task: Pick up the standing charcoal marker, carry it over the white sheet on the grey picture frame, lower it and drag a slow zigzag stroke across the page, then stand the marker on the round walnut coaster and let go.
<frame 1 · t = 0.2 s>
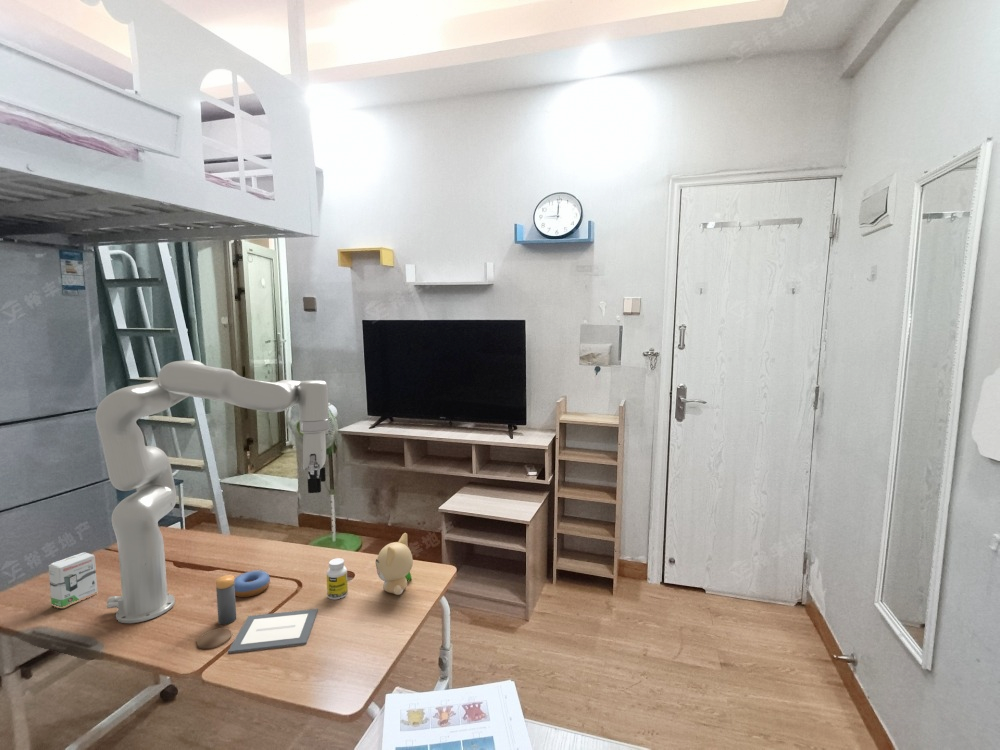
hand: (317, 486, 132), 31 cm above the table, fingers open, 9 cm apart
doughnut: (251, 590, 138), on the table
grey picture frame: (276, 630, 118), on the table
marker: (227, 620, 123), on the table
kitten: (396, 589, 137), on the table
supplement bottle: (337, 595, 134), on the table
ink box: (75, 601, 132), on the table
coaster: (214, 639, 115), on the table
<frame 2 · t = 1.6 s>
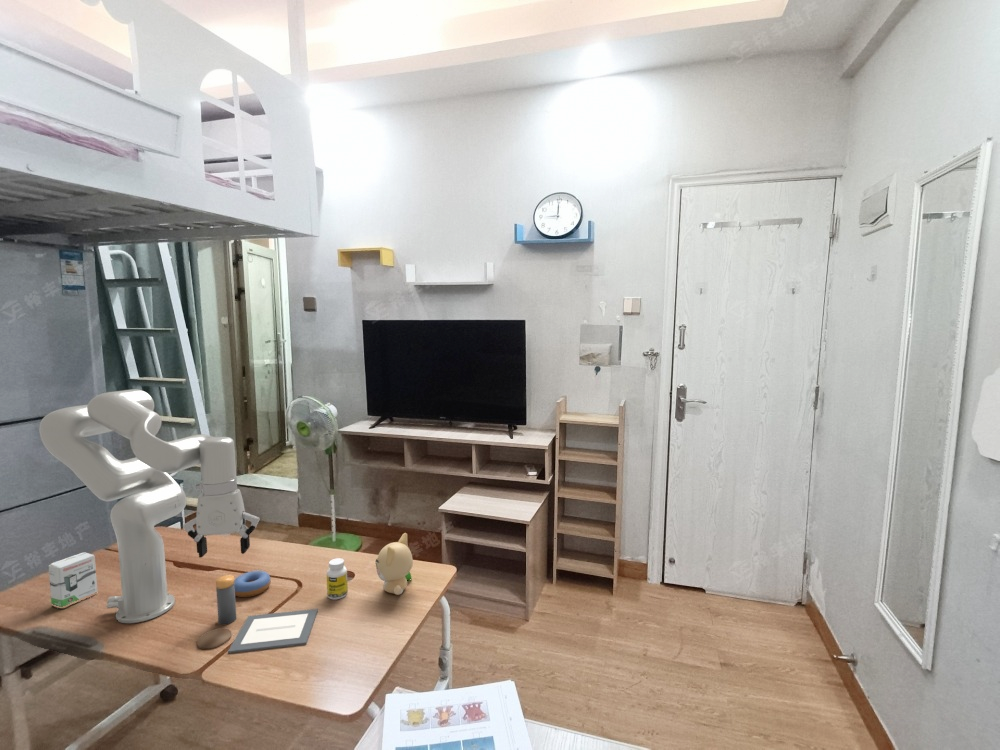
hand: (224, 553, 121), 18 cm above the table, fingers open, 9 cm apart
nothing on the table moved.
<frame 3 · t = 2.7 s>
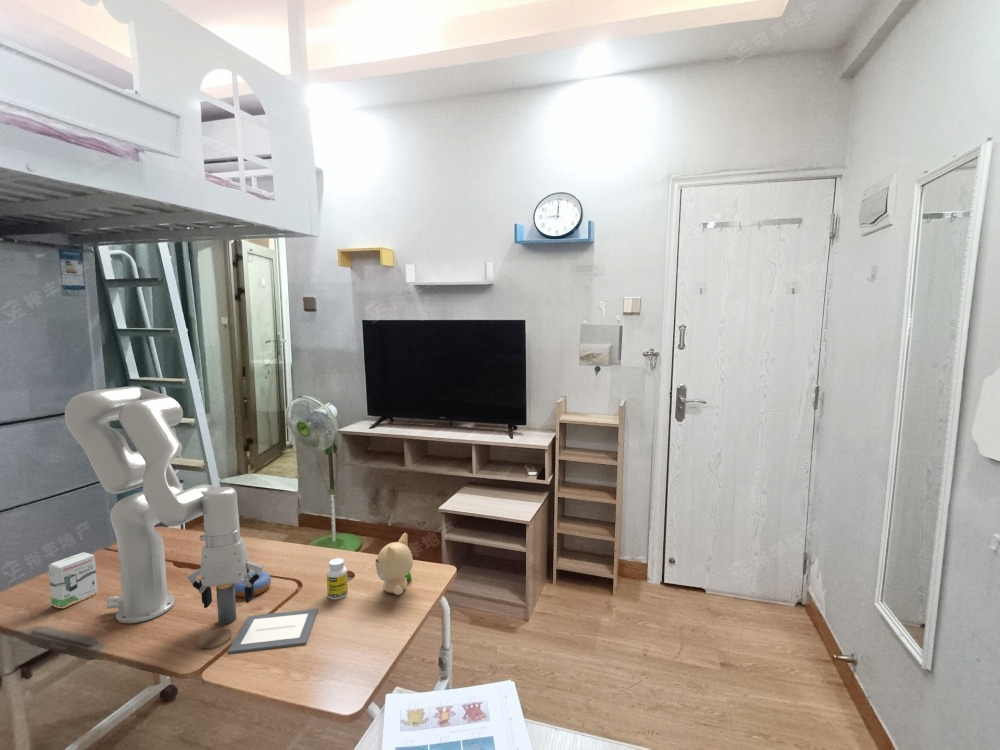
hand: (228, 602, 122), 5 cm above the table, fingers open, 9 cm apart
nothing on the table moved.
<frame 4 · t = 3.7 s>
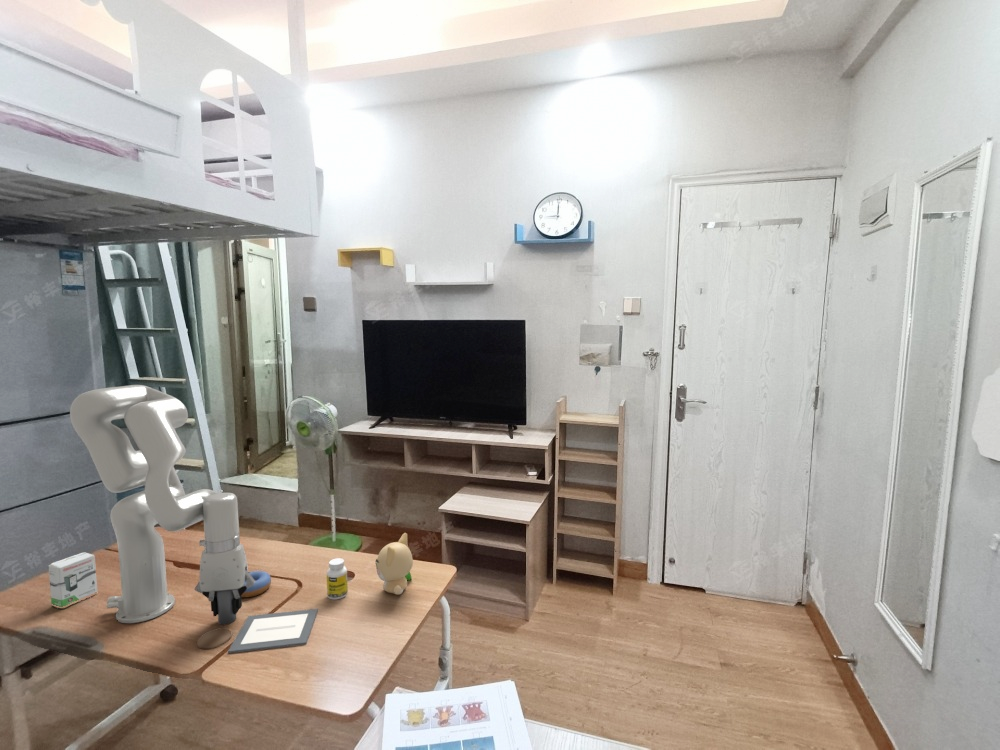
hand: (227, 611, 123), 2 cm above the table, fingers closed on marker, 3 cm apart
marker: (227, 620, 123), on the table, touching gripper
everything else where it was.
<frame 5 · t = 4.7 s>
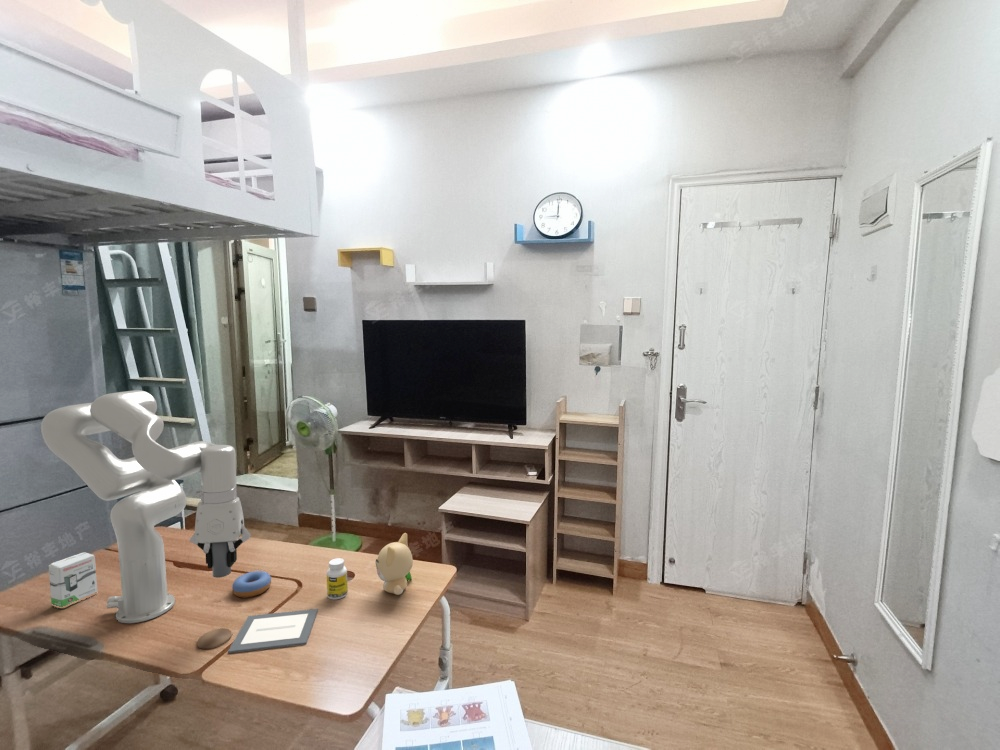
hand: (221, 564, 122), 15 cm above the table, fingers closed on marker, 3 cm apart
marker: (221, 573, 122), point 12 cm above the table, touching gripper
everything else where it was.
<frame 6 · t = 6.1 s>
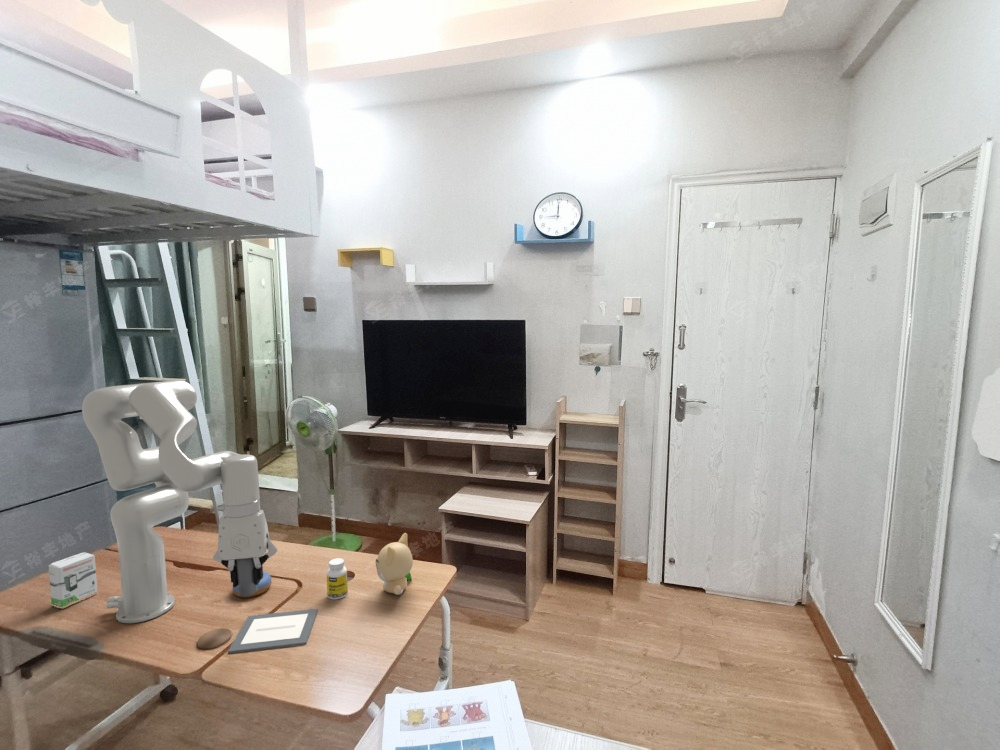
hand: (247, 582, 114), 14 cm above the table, fingers closed on marker, 3 cm apart
marker: (248, 591, 114), point 12 cm above the table, touching gripper
everything else where it was.
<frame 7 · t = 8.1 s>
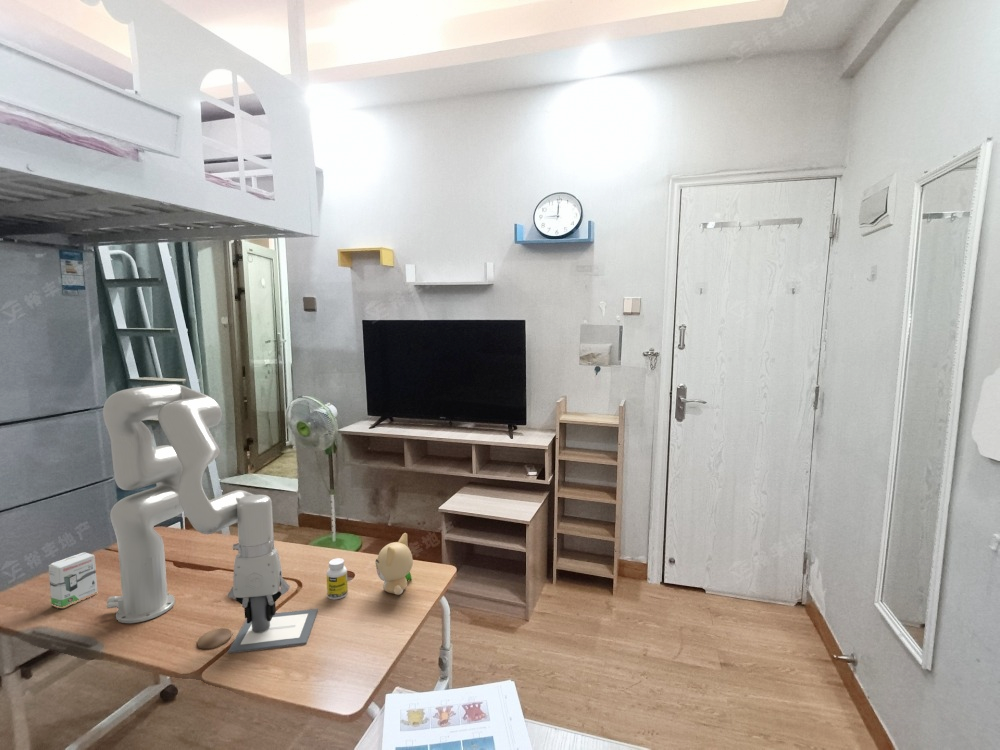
hand: (260, 618, 118), 3 cm above the table, fingers closed on marker, 3 cm apart
marker: (261, 627, 118), point 1 cm above the table, touching gripper
everything else where it was.
when the fingers open (4 cm above the table, at t = 16.3 s): marker stays where it is, resting on coaster.
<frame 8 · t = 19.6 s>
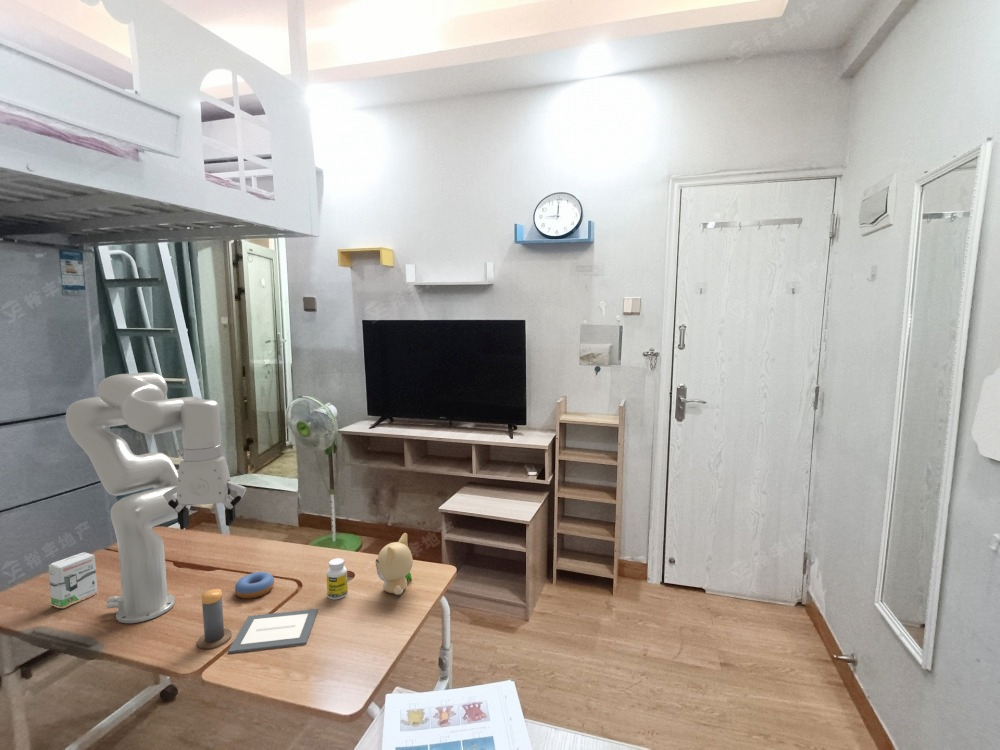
hand: (207, 525, 112), 28 cm above the table, fingers open, 9 cm apart
marker: (214, 637, 115), point 1 cm above the table, touching coaster
at the end: marker inside the target area on the coaster (0.1 cm from its centre), point 0.6 cm above the coaster's base; marker tilted 0°; the gripper is holding nothing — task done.
